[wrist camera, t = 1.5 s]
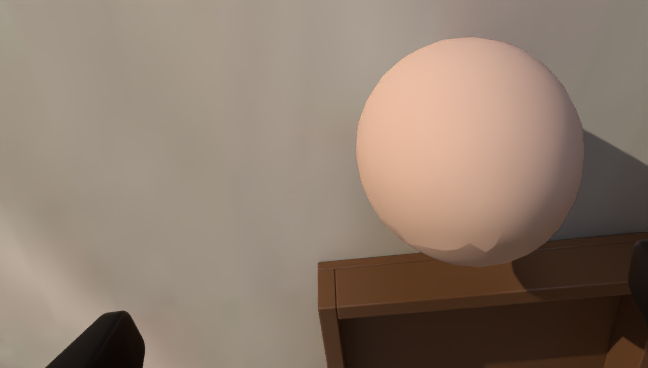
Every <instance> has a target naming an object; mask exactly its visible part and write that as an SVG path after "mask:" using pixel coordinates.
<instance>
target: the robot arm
mask: <svg viewBox="0 0 648 368" xmlns="http://www.w3.org/2000/svg"><path fill="white" fill-rule="evenodd" d="M628 284H629V288H630V291H631V293H632V295H633V297H634V300H635V302H636V304H637V306H638V308H639V310H640V312H641V315H642V317H643V319H644V321H645V323H646V325H647V328H648V239H646V240H640V241H637V242H636V243H635V244H634V246H633V250H632V256H631V261H630V267H629V272H628ZM144 355H145V344H144V340H143V338H142V336H141V334H140V332H139V331H138V329H137V327H136V325H135V323H134V321H133V319H132V317H131V316H130V314H129V313H128V312H126V311H116V312H109V313H105V314H103V315H102V316H100V317H99V318H98V319H97V320H96V321H95V322H94V323H93V324H92V325H91V326H89V327H88V328H87V329H86V330H85V331H84V332H83V333H82V334H81V335H80V336H79V337H78V338H77V339H76V340H74V341H73V342H72V343H71V344H70V345H69V346H68V347H67V348H66V349H65V350H64V351H63V352H62V353H60V354H59V355H58V356H57V357H56V358H55V359H54V360H53V361H52V362H51V363H50V364H49V365H48V366H47V367H45V368H143V362H144Z"/></svg>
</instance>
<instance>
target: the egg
mask: <svg viewBox="0 0 648 368" xmlns="http://www.w3.org/2000/svg"><path fill="white" fill-rule="evenodd" d="M584 154H585V145H584V138H583V130H582V124H581V122H580V119H579V116H578V114H577V111H576V108H575V107H574V105H573V103H572V101H571V99H570V97H569V95H568V93H567V92H566V90H565V88H564V86H563V85H562V84H561V83H560V82H559V80H558V79H557V78H556V77H555V76H554V75H553V74H552V72H551V71H550V70H549V69H548V68H547V67H546V66H545V65H544V64H542V63H541V62H539V61H538V60H537V59H535V58H534V57H533V56H531V55H530V54H528V53H527V52H526V51H524V50H521V49H519V48H517V47H514V46H512V45H510V44H507V43H505V42H501V41H495V40H488V39H482V38H476V37H467V38H457V39H448V40H442V41H439V42H437V43H434V44H431V45H429V46H426V47H424V48H421V49H419V50H417V51H415V52H413V53H411V54H409V55H407V56H405V57H404V58H403V59H402V60H401V61H399V62H398V63H397V64H396V65H395V66H394V67H392V68H391V69H390V70H389V71H388V72H387V73H386V74H384V76H383V77H382V78H381V80H380V81H379V83H378V84H377V86H376V87H375V89H374V90H373V92H372V93H371V95H370V96H369V98H368V99H367V102H366V104H365V107H364V110H363V112H362V115H361V118H360V121H359V124H358V134H357V150H356V159H357V164H358V169H359V174H360V178H361V183H362V185H363V187H364V190H365V192H366V194H367V197H368V199H369V201H370V204H371V205H372V207H373V208H374V210H375V211H376V213H377V214H378V216H379V217H380V219H381V220H382V222H383V223H384V224H385V225H386V226H387V227H388V228H389V229H390V230H391V231H393V232H394V233H395V234H396V235H397V236H398V237H399V238H400V239H402V240H403V241H404V242H405V243H407V244H408V245H410V246H411V247H413V248H415V249H416V250H418V251H419V252H421V253H423V254H426V255H428V256H430V257H432V258H434V259H437V260H440V261H443V262H447V263H450V264H453V265H462V266H472V267H484V266H491V265H498V264H505V263H508V262H511V261H513V260H516V259H518V258H521V257H523V256H526V255H528V254H530V253H531V252H533V251H534V250H536V249H537V248H539V247H540V246H542V245H543V244H545V243H546V242H547V241H548V240H549V239H550V238H551V237H552V236H553V235H554V234H555V233H556V232H557V231H558V229H559V228H560V227H561V225H562V223H563V222H564V220H565V218H566V217H567V215H568V213H569V211H570V210H571V208H572V206H573V204H574V202H575V199H576V197H577V194H578V191H579V188H580V185H581V181H582V172H583V163H584Z"/></svg>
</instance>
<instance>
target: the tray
mask: <svg viewBox="0 0 648 368" xmlns="http://www.w3.org/2000/svg"><path fill="white" fill-rule="evenodd" d="M646 239H648V232H642V233H631V234H620V235H609V236H598V237H588V238H577V239H566V240H555V241H547V242H546V243H545V244H543V245H542V246H540V247H539V248H537V249H536V250H534V251H533V252H531V253H530V254H528V255H526V256H523V257H521V258H518V259H516V260H513V261H511V262H508V263H505V264H498V265H491V266H484V267H472V266H462V265H453V264H450V263H447V262H443V261H440V260H437V259H434V258H432V257H430V256H428V255H426V254H423V253H414V254H404V255H393V256H382V257H371V258H360V259H350V260H339V261H328V262H319V263H318V312H319V318H320V324H321V330H322V336H323V342H324V348H325V355H326V361H327V367H328V368H648V328H647V325H646V323H645V321H644V319H643V317H642V315H641V312H640V310H639V308H638V306H637V304H636V302H635V300H634V297H633V295H632V293H631V291H630V288H629V284H628V272H629V267H630V261H631V256H632V250H633V246H634V244H635V243H636V242H637V241H640V240H646Z"/></svg>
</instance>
